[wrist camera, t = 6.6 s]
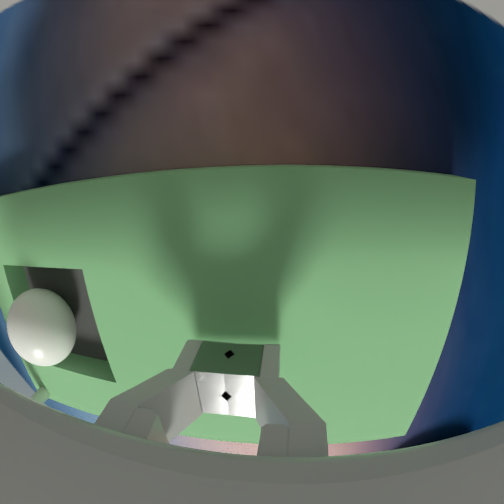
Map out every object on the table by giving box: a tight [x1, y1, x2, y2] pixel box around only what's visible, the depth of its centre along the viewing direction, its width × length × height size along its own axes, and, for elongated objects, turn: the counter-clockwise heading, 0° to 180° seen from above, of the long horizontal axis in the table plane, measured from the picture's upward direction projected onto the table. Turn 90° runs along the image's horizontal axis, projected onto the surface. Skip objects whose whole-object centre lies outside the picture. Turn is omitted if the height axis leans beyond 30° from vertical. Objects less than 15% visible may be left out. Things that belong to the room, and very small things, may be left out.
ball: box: [7, 288, 77, 366], centre depth 11 cm, size 4×4×4 cm
